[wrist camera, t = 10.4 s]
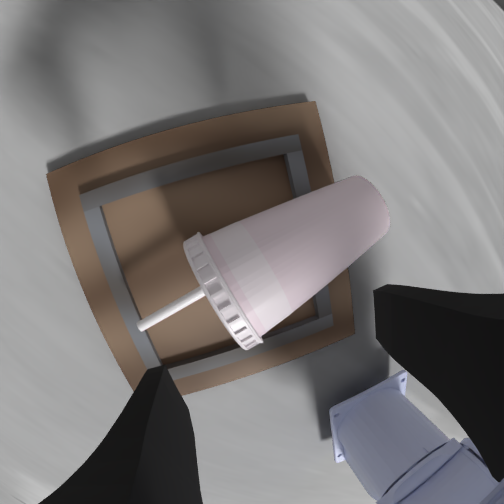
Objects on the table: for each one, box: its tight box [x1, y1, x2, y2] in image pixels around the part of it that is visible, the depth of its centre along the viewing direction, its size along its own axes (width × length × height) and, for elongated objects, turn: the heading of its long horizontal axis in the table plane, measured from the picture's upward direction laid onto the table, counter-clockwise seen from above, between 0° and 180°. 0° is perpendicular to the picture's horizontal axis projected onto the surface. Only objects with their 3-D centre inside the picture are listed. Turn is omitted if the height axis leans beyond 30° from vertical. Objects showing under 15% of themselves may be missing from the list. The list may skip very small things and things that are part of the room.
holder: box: [46, 101, 355, 396], centre depth 18 cm, size 17×17×1 cm
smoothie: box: [137, 175, 390, 350], centre depth 15 cm, size 6×6×14 cm
